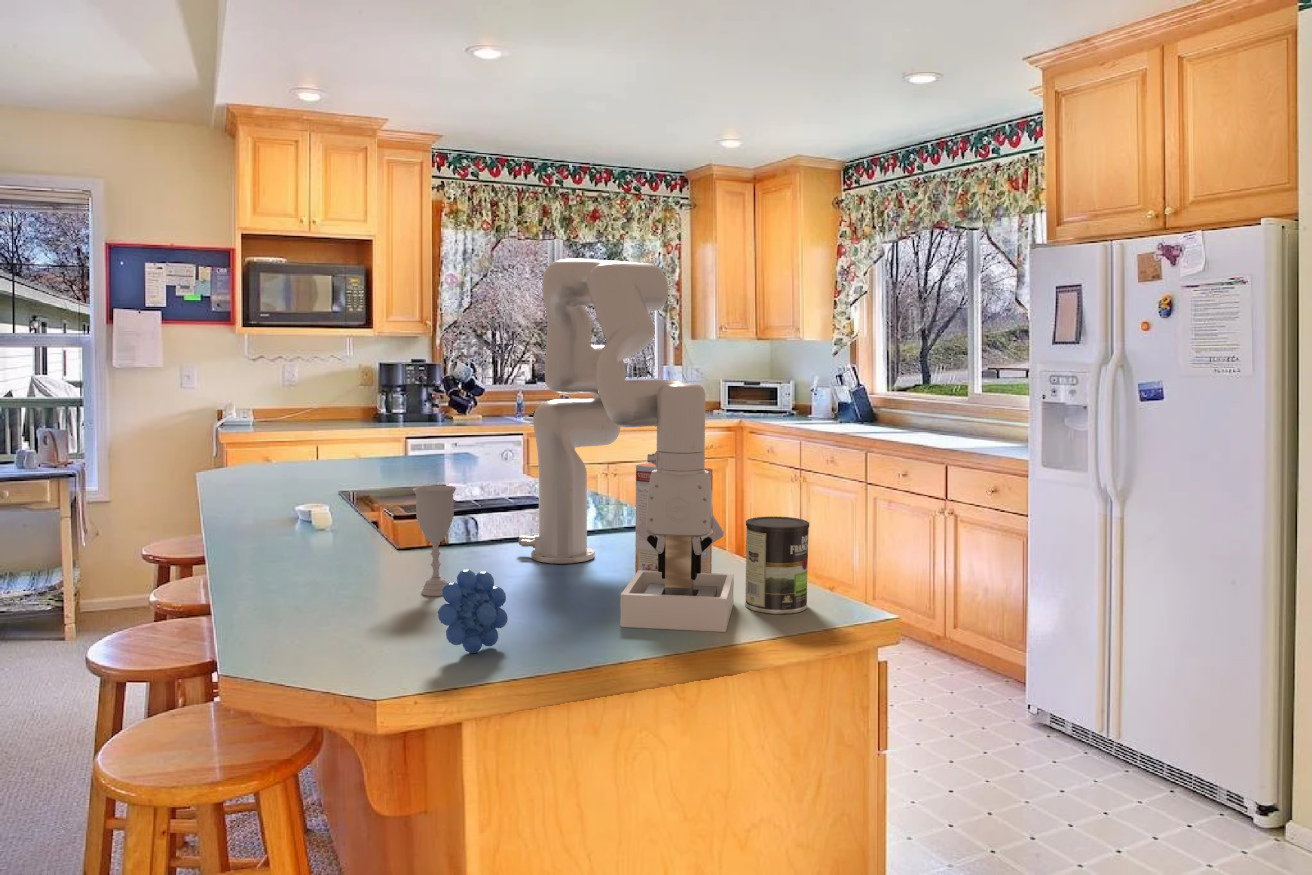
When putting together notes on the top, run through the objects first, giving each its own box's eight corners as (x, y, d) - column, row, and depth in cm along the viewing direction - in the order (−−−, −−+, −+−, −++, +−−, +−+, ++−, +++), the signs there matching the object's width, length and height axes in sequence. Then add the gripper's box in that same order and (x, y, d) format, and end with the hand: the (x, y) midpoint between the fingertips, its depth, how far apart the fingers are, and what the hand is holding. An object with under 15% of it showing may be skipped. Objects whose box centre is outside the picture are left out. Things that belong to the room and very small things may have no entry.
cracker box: (713, 583, 176) (714, 467, 174) (691, 589, 172) (692, 470, 170) (656, 570, 186) (656, 460, 184) (634, 575, 181) (634, 463, 179)
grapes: (460, 670, 129) (459, 580, 128) (428, 659, 133) (427, 572, 132) (526, 649, 138) (526, 565, 136) (495, 639, 142) (494, 558, 141)
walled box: (620, 626, 149) (620, 594, 148) (637, 599, 164) (638, 570, 164) (726, 631, 146) (726, 599, 146) (733, 603, 162) (733, 574, 162)
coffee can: (817, 603, 163) (819, 519, 161) (791, 618, 154) (793, 529, 153) (761, 594, 168) (762, 513, 167) (733, 608, 160) (734, 522, 158)
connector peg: (664, 605, 154) (665, 530, 152) (668, 599, 157) (669, 525, 156) (690, 607, 153) (691, 531, 152) (693, 600, 157) (693, 526, 156)
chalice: (419, 599, 164) (418, 492, 162) (410, 589, 170) (408, 487, 168) (462, 594, 167) (461, 489, 165) (451, 585, 173) (450, 484, 171)
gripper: (623, 464, 151) (623, 580, 152) (732, 466, 148) (730, 585, 150) (631, 458, 158) (631, 569, 160) (735, 460, 156) (734, 574, 157)
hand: (679, 576), depth 155 cm, fingers closed on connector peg, 4 cm apart
